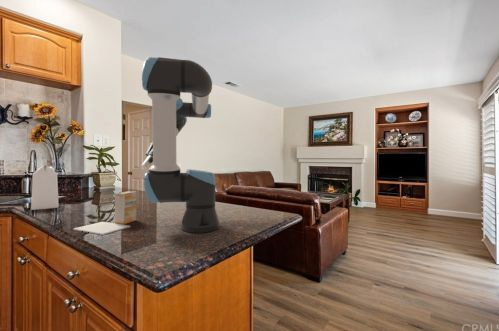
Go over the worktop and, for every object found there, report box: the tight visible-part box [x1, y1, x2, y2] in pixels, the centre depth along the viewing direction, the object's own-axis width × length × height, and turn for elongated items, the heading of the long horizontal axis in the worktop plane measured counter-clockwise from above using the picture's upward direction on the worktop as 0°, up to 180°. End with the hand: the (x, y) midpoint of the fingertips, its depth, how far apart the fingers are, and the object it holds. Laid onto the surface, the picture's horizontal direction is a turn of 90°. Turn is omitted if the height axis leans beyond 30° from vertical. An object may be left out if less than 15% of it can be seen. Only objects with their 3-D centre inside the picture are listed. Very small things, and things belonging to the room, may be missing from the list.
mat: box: [72, 221, 131, 236], centre depth 98 cm, size 16×12×1 cm
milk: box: [30, 159, 59, 211], centre depth 140 cm, size 12×12×26 cm
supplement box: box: [114, 190, 138, 225], centre depth 108 cm, size 8×5×13 cm, turn 168°
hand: (144, 166), depth 117 cm, fingers closed
